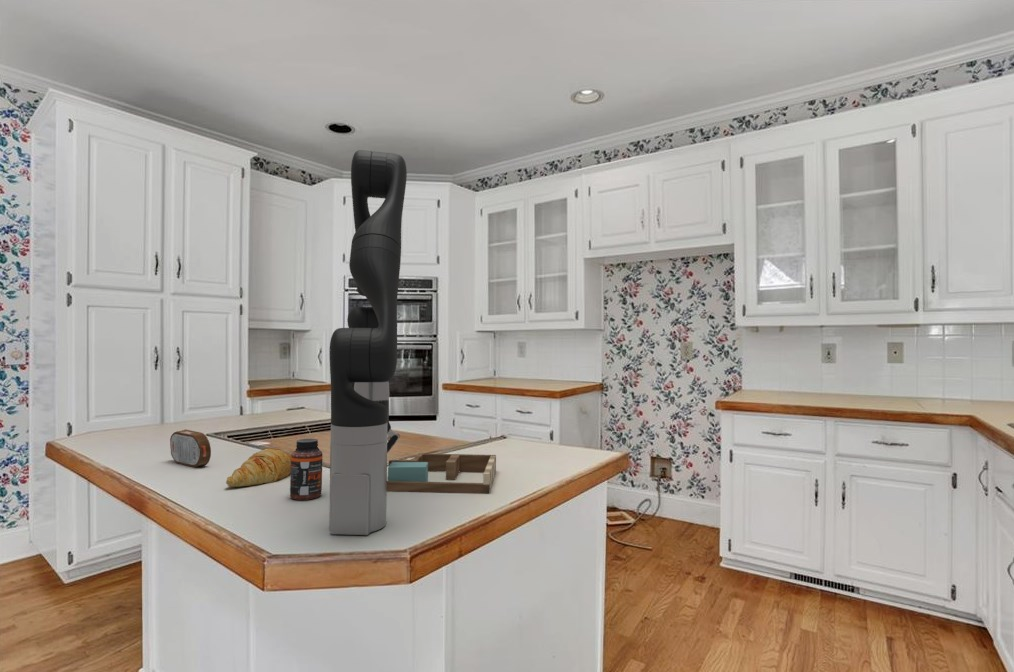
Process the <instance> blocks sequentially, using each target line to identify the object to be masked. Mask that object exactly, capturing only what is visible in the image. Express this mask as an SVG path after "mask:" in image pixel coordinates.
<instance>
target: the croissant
mask: <svg viewBox="0 0 1014 672" xmlns="http://www.w3.org/2000/svg"><path fill="white" fill-rule="evenodd" d="M289 475H291V454H289V453H287V452H285V451H282V450H281V449H280V448H264V449H263V450H260V451H257V452H255V453H253V454H252V455H251V456H249V458H247V460H245V461H243V462H242V464H241V465H240V467H239V468H236V469H234V471H233V473H232V474H231V475H229V476H227V477H226V482H225V483H226V485H227V486H228V487H231V488H240V487H241V488H242V487H249V486H257V485H258V486H259V485H264V484H263V483H265V484H269V483H268V482H270V483H273V482H276V481H279V480H282V478H283V479H284V478H286V477H287V476H289ZM278 479H279V480H278ZM272 481H273V482H272Z"/></svg>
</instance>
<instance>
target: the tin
mask: <svg viewBox="0 0 1014 672" xmlns="http://www.w3.org/2000/svg"><path fill="white" fill-rule="evenodd" d="M169 442H170V443H169V445H170V456H171V458H172V459H173V460H174V461H175V462H176V464H179V465H184V466H188V467H192V468H198V467H203V466H207V464H209V462H210V460H211V455H212V448H211V443H210V440H209V438H208V437H207V436H206V434H205V433H203V432H200V431H195V430H190V429H182V430H178V431H175V432H172V434H171V436H170V438H169Z"/></svg>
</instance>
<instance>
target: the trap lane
mask: <svg viewBox="0 0 1014 672" xmlns="http://www.w3.org/2000/svg"><path fill="white" fill-rule="evenodd" d="M392 462H428V472H437V471H446V472H445V480H446V479H447V480H446V481H449V482H446V481H428V482H413V481H388V480H387V492H402V493H403V492H408V493H415V492H416V493H446V492H447V493H448V494H449V493H450V494H452V493H454V494H456V493H457V494H490V492H491V489H492V488H491V487H492V485H493V481H494V479H495V475H496V472H497V455H496V454H472V453H471V454H469V453H468V454H463V453H462V454H461V453H460V454H459V453H418V454H417V455H415V456H414V457H413V458H412V459H389V460H388V466H389V465H390V464H391V463H392ZM459 471H460V472H459ZM458 473H483V482H456V481H455V480H456V479H455V478H457V476H458V475H459V474H458ZM448 479H450V480H448ZM452 481H455V482H452Z"/></svg>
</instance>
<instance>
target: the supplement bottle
mask: <svg viewBox="0 0 1014 672" xmlns="http://www.w3.org/2000/svg"><path fill="white" fill-rule="evenodd" d="M318 446H319V441H318V439H317V438H301V439H297V440H296V446H295V447H296V448H295V450H294V451H292V452H291V454H290V455H291V473H290V478H289V479H290V481H289V482H290V483H289V487H290V488H289V497H290V498H291V499H293V500H297V501H306V500H308V501H309V500H313V499H317V498H318V497H320V496H321V495H322V490H323V489H322V488H323V451H322V450H321V449H320V448H319V447H318Z"/></svg>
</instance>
